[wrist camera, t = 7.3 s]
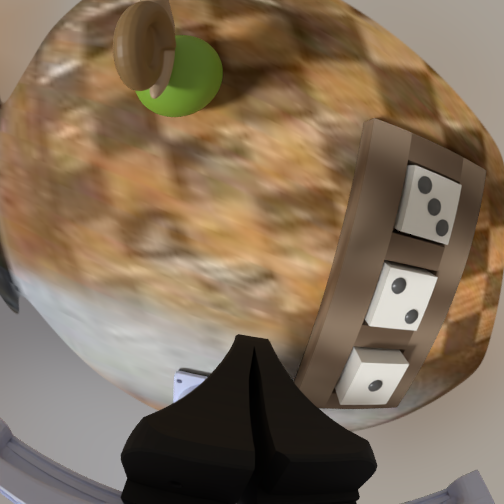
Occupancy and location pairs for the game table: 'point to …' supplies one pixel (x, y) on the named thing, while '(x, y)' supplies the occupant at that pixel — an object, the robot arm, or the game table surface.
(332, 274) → the key board
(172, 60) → the snail figurine
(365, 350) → the tile one pip
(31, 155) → the game table surface
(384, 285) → the tile two pips
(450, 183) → the tile three pips
